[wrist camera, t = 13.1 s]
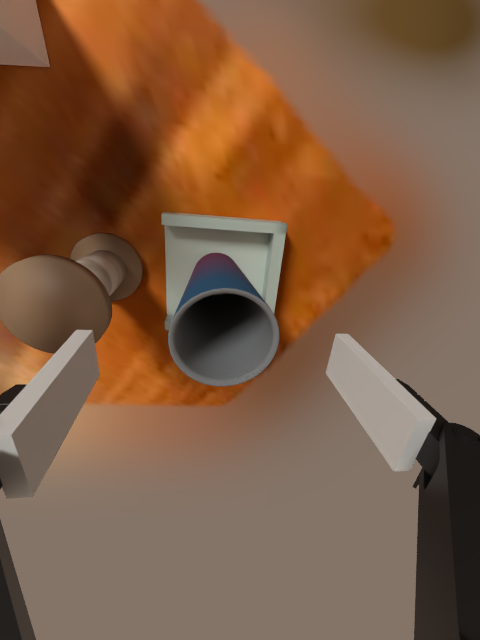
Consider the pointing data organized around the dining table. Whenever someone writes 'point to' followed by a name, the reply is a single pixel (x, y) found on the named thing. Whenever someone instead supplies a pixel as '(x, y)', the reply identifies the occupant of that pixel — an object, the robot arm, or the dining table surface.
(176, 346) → the cup
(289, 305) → the dining table surface
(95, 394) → the dining table surface
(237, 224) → the square tray
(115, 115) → the dining table surface
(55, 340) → the doorknob
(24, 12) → the milk
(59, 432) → the robot arm
